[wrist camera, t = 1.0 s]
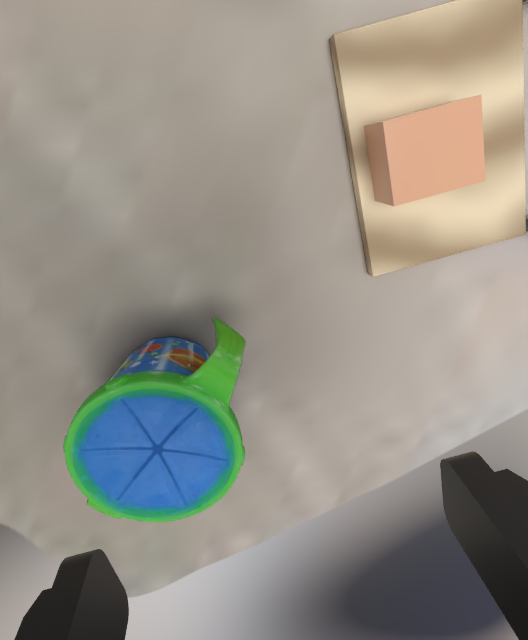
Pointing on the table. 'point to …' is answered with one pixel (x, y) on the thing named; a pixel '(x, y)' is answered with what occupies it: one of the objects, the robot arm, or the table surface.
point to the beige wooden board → (426, 91)
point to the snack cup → (161, 431)
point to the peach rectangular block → (427, 151)
